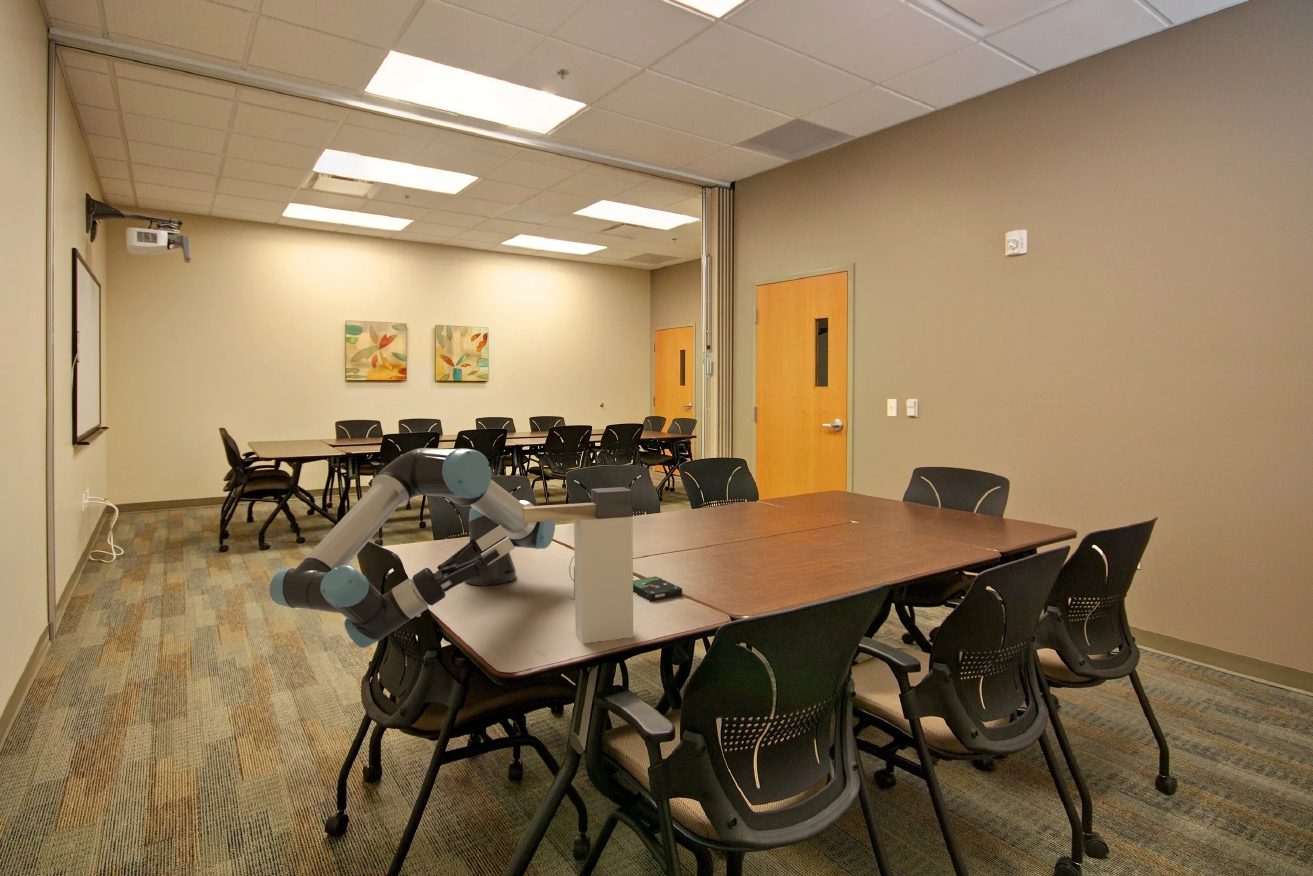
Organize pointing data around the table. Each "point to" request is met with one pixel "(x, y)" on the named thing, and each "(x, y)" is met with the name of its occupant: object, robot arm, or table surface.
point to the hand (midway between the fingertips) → (507, 535)
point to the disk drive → (656, 589)
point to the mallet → (585, 507)
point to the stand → (603, 578)
